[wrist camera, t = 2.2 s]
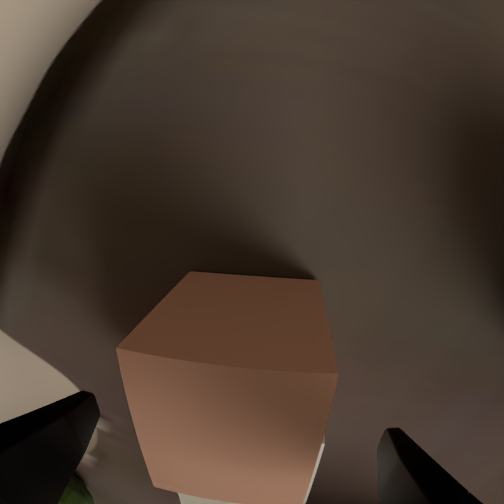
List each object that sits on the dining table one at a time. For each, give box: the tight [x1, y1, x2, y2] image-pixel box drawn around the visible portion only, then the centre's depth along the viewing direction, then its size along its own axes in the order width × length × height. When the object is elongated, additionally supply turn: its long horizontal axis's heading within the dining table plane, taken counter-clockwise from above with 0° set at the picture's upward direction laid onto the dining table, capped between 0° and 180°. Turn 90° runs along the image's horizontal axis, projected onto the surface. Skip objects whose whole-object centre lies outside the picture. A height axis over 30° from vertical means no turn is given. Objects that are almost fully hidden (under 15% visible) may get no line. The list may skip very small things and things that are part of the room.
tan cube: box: [116, 271, 339, 504], centre depth 10 cm, size 6×5×6 cm
